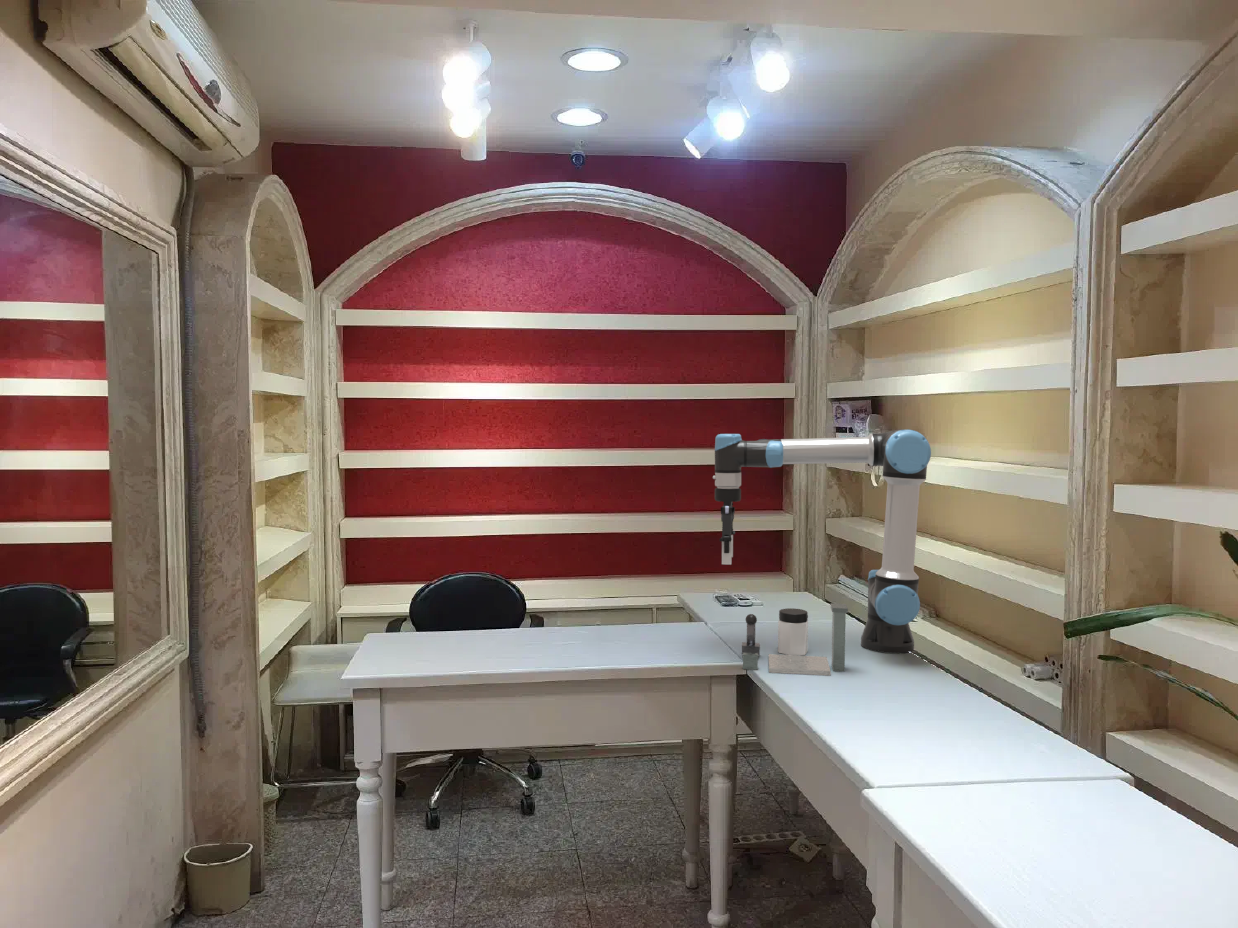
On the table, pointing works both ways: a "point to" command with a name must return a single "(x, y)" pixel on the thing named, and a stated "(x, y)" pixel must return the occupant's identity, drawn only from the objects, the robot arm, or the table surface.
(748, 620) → the lever
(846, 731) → the table surface
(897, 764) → the table surface
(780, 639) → the jar
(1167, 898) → the table surface
